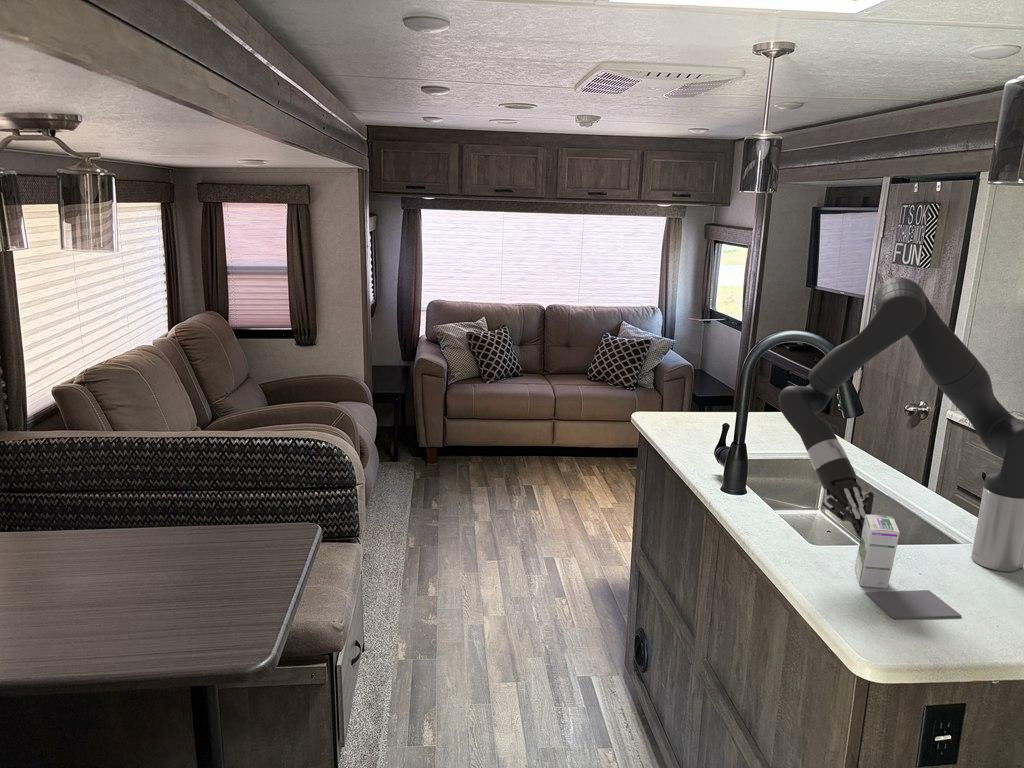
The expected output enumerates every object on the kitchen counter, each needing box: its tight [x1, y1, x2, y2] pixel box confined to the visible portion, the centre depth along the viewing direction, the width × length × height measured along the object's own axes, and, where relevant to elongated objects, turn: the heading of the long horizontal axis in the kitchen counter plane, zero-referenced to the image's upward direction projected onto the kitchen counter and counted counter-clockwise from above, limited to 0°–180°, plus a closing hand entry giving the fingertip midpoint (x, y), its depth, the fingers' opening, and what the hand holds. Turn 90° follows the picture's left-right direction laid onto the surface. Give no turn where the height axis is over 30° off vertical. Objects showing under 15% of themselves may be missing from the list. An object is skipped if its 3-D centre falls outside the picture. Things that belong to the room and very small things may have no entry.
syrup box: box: [854, 514, 901, 590], centre depth 158 cm, size 6×6×14 cm
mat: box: [864, 589, 962, 620], centre depth 152 cm, size 14×10×1 cm
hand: (866, 537), depth 161 cm, fingers closed
